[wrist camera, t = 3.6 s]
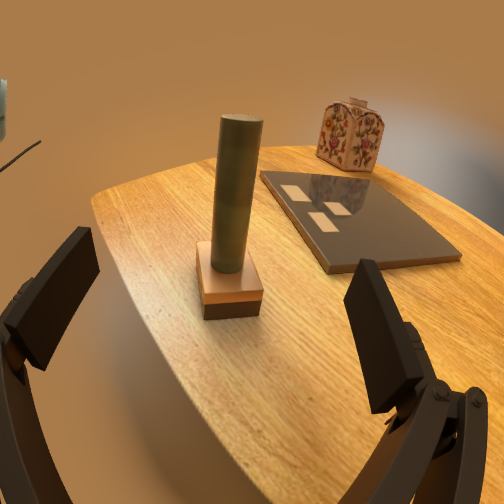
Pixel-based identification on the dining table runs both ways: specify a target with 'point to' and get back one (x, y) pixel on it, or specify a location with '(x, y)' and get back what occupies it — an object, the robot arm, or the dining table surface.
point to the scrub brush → (231, 225)
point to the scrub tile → (356, 222)
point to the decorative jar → (350, 135)
